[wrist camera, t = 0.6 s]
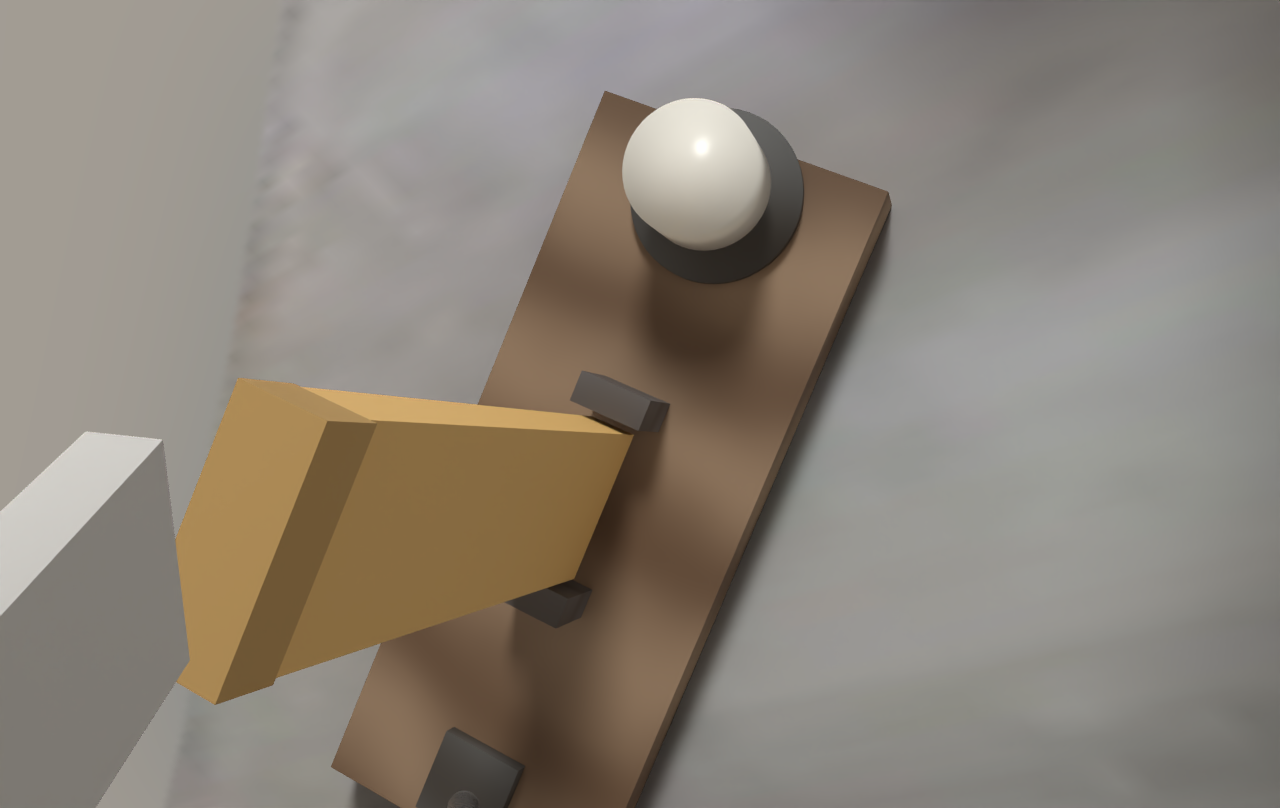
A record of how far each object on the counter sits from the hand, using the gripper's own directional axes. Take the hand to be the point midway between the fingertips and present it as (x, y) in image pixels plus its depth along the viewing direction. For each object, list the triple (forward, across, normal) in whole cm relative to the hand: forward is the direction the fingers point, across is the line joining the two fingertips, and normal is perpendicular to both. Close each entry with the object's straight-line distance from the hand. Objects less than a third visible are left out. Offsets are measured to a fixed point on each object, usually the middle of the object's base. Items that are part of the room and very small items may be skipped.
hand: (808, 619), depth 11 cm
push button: (+25, -1, -2) cm, 25 cm away
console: (+24, -3, -13) cm, 27 cm away
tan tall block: (+22, -4, -12) cm, 26 cm away
